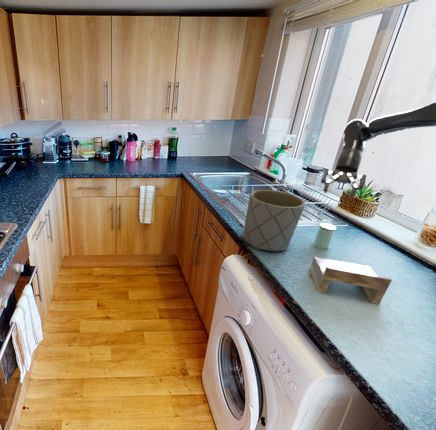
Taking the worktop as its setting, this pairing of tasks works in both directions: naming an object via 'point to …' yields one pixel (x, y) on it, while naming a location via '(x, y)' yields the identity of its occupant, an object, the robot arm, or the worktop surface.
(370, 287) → the wooden riser stand
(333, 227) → the jar
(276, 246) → the planter
